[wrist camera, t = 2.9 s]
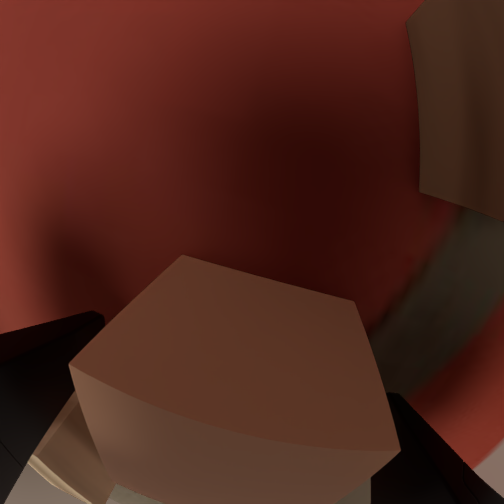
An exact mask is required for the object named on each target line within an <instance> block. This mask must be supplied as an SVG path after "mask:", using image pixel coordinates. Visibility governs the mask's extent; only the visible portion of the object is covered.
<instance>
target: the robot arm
mask: <svg viewBox="0 0 504 504" xmlns="http://www.w3.org/2000/svg"><path fill="white" fill-rule="evenodd" d="M104 327H105V318H104V316H103V315H102V314H100V313H98V312H95V311H88V312H85V313H81V314H77V315H73V316H69V317H66V318H62V319H58V320H54V321H50V322H46V323H43V324H39V325H35V326H31V327H27V328H23V329H19V330H15V331H11V332H7V333H3V334H0V504H4V503H5V500H6V499H7V497H8V495H9V494H10V492H11V490H12V488H13V486H14V484H15V483H16V481H17V479H18V478H19V476H20V474H21V472H22V471H23V469H24V467H25V466H26V464H27V462H28V461H29V459H30V457H31V456H32V454H33V453H34V451H35V449H36V448H37V446H38V445H39V443H40V442H41V440H42V438H43V437H44V435H45V434H46V432H47V431H48V429H49V428H50V426H51V425H52V423H53V422H54V420H55V419H56V417H57V416H58V414H59V413H60V411H61V410H62V408H63V407H64V406H65V404H66V403H67V401H68V400H69V398H70V397H71V396H72V394H73V393H74V391H75V387H74V383H73V380H72V376H71V372H70V368H69V363H70V362H71V361H72V360H73V358H74V357H75V356H76V355H77V354H78V353H79V352H80V351H81V350H82V349H83V348H84V347H85V346H86V345H87V344H88V343H89V342H90V341H91V340H92V339H93V338H94V337H95V336H96V335H97V334H98V333H99V332H100V331H101V330H102V329H103V328H104ZM386 396H387V400H388V403H389V407H390V410H391V414H392V417H393V421H394V425H395V429H396V433H397V436H398V440H399V445H400V449H401V451H400V452H399V453H398V454H397V455H396V456H395V457H394V458H393V459H391V460H390V461H389V462H388V463H387V464H386V465H385V466H383V467H382V468H381V469H380V470H379V471H378V472H376V473H375V474H374V475H373V476H371V504H504V498H503V497H502V496H501V495H499V494H498V493H497V492H496V491H495V490H494V489H492V488H491V487H490V486H489V485H488V484H487V483H485V482H484V481H483V480H482V479H481V478H480V477H479V476H478V475H477V474H476V473H475V472H474V471H473V470H472V469H471V468H470V467H469V466H468V465H467V464H466V463H465V462H463V460H462V459H461V458H460V457H459V455H458V454H457V453H456V452H455V451H454V450H453V449H452V448H451V447H450V446H449V445H448V444H447V443H446V442H445V441H444V440H443V439H442V438H441V437H440V436H439V435H438V434H437V433H436V432H435V430H434V429H433V428H432V427H431V426H430V425H429V424H428V423H427V422H426V421H425V420H424V419H423V418H422V417H421V416H420V415H419V414H418V413H417V412H416V411H415V410H414V409H413V408H412V407H411V406H410V405H409V404H408V403H407V401H406V400H405V399H404V398H403V397H402V396H401V395H400V394H398V393H391V392H388V393H386Z"/></svg>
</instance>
